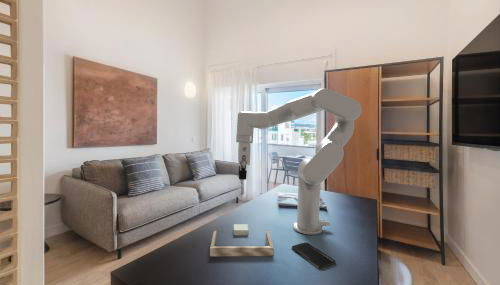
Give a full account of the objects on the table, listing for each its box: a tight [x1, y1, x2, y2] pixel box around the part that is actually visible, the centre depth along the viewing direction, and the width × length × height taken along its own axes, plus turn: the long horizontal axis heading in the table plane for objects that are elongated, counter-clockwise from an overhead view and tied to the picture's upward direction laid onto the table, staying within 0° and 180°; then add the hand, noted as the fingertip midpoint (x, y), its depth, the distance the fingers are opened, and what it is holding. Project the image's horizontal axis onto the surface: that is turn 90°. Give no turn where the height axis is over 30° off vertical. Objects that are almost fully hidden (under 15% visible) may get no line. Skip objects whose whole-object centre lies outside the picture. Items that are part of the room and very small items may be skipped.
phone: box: [291, 242, 337, 270], centre depth 83 cm, size 8×1×15 cm
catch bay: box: [209, 230, 274, 257], centre depth 88 cm, size 22×14×3 cm, turn 93°
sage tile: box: [233, 223, 249, 236], centre depth 100 cm, size 6×6×2 cm
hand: (242, 176), depth 106 cm, fingers open, 9 cm apart
